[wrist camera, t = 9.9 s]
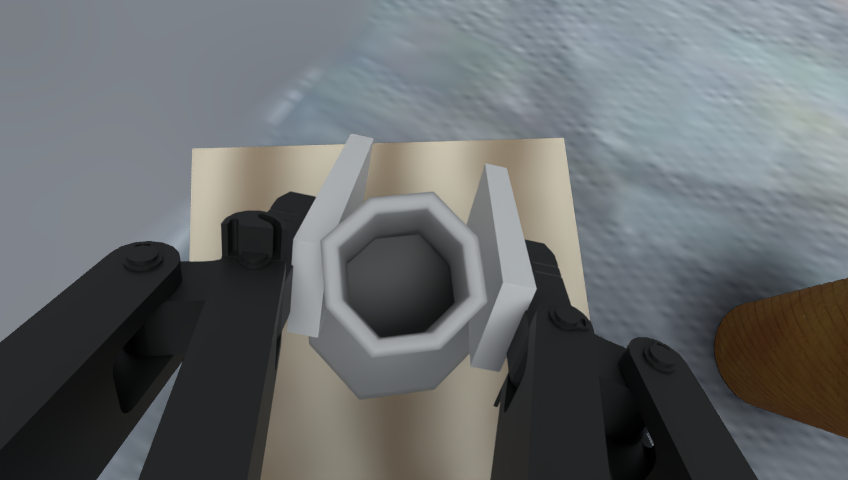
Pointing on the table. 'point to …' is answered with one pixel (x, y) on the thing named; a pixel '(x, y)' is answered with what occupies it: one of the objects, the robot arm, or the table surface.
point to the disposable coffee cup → (791, 355)
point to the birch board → (313, 378)
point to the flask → (399, 295)
